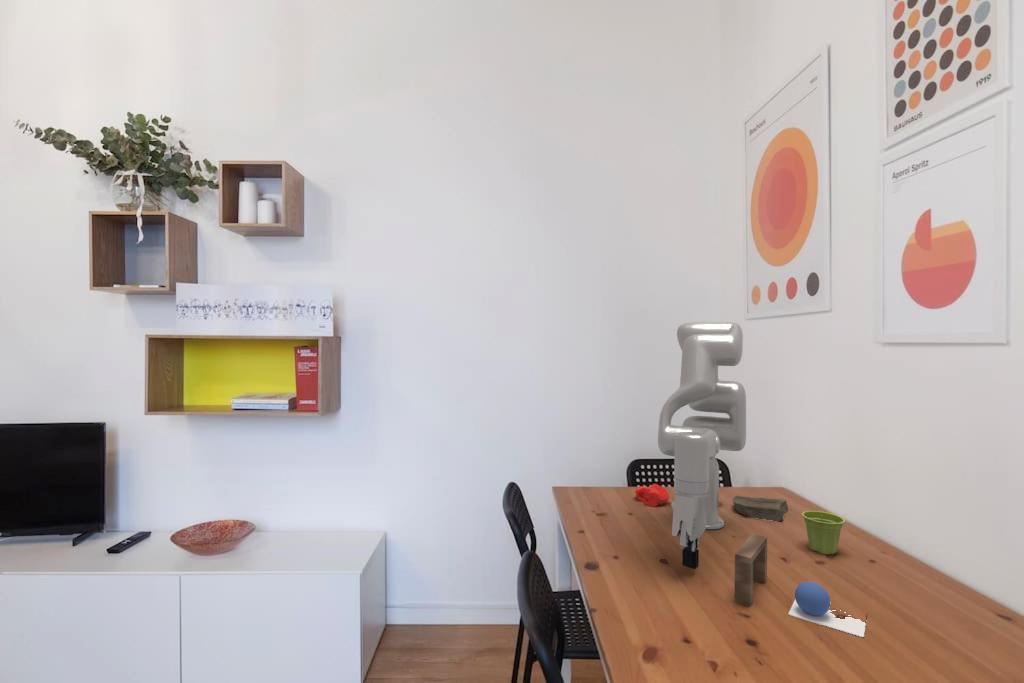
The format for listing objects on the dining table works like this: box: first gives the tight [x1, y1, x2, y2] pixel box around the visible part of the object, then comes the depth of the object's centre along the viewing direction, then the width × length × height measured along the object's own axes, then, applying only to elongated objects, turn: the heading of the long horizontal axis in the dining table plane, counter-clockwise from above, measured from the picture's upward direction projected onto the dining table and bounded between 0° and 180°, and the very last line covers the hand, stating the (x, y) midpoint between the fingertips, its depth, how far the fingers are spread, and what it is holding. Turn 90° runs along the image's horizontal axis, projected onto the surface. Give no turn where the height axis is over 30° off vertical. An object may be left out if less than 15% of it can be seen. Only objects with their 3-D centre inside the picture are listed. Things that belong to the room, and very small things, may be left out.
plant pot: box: [801, 510, 846, 555], centre depth 129 cm, size 9×9×9 cm
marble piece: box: [732, 495, 789, 522], centre depth 158 cm, size 17×15×4 cm
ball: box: [794, 580, 831, 616], centre depth 97 cm, size 6×6×6 cm
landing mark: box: [788, 599, 867, 638], centre depth 98 cm, size 12×12×1 cm
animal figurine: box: [634, 483, 671, 507], centre depth 170 cm, size 12×15×5 cm
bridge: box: [733, 533, 768, 607], centre depth 106 cm, size 3×15×10 cm, turn 142°
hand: (690, 566), depth 115 cm, fingers closed
